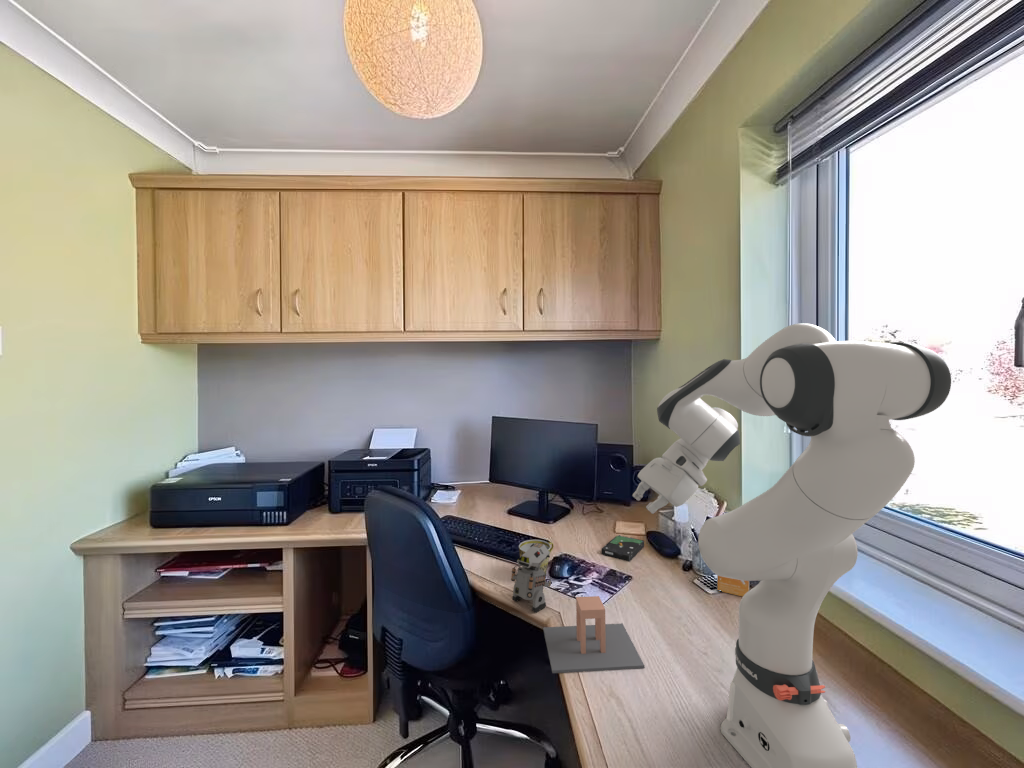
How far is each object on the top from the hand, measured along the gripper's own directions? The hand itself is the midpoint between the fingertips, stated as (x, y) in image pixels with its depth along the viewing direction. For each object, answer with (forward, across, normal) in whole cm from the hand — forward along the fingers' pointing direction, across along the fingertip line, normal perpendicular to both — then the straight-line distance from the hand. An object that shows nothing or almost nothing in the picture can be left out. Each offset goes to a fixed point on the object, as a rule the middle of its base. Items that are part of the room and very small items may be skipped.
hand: (641, 504), depth 103 cm
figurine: (+40, -15, +4) cm, 43 cm away
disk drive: (+16, -45, +30) cm, 56 cm away
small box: (-1, -16, +46) cm, 48 cm away
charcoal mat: (+32, +6, +12) cm, 35 cm away
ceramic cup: (+38, -29, +7) cm, 48 cm away
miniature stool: (+32, +6, +12) cm, 34 cm away
